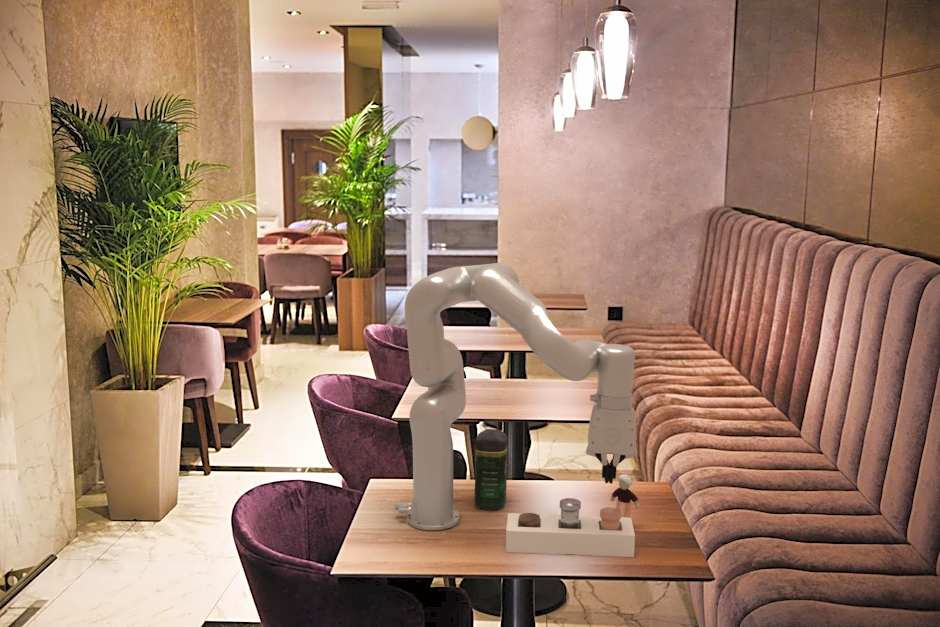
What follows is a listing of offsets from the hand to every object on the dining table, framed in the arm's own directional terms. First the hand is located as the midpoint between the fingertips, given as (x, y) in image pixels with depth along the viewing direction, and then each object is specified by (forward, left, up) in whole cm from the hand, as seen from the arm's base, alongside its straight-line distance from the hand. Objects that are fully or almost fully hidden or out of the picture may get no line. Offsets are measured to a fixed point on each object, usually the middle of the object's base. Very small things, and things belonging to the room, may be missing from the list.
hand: (608, 481), depth 213 cm
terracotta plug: (+1, 0, -13) cm, 13 cm away
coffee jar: (-27, +23, -16) cm, 39 cm away
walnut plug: (-17, 0, -15) cm, 23 cm away
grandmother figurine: (+5, +12, -16) cm, 20 cm away
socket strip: (-8, 0, -15) cm, 17 cm away
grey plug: (-8, 0, -11) cm, 14 cm away
